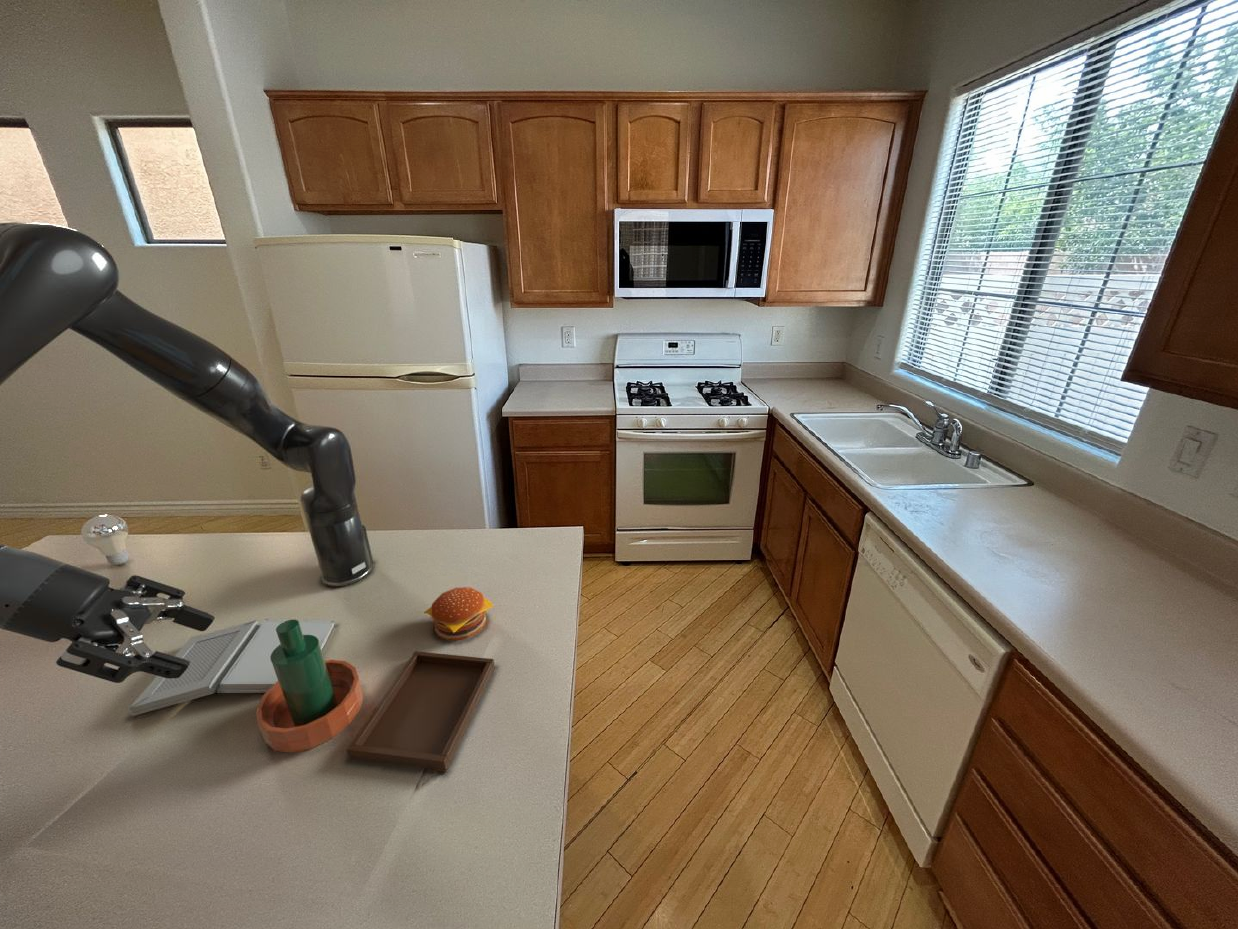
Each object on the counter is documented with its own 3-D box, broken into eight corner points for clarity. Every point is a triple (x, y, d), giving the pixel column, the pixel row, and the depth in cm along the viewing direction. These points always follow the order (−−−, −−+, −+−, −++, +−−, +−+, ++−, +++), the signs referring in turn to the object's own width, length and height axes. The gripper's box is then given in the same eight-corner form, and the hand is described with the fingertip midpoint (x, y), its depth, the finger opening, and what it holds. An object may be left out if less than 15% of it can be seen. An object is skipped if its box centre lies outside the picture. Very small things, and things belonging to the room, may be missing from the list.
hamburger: (464, 602, 93) (460, 574, 91) (497, 621, 88) (494, 592, 86) (422, 629, 86) (416, 600, 84) (456, 652, 81) (451, 621, 79)
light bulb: (147, 561, 106) (126, 514, 101) (104, 577, 100) (79, 527, 96) (136, 552, 109) (115, 505, 105) (94, 567, 104) (70, 518, 99)
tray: (416, 660, 79) (414, 651, 79) (494, 668, 78) (493, 658, 77) (349, 760, 63) (346, 749, 62) (446, 772, 62) (444, 761, 61)
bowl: (308, 678, 76) (301, 656, 74) (380, 685, 75) (375, 664, 73) (242, 749, 65) (232, 726, 63) (326, 760, 63) (318, 737, 62)
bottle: (311, 694, 72) (284, 610, 66) (345, 698, 72) (321, 613, 66) (283, 727, 67) (250, 639, 61) (320, 731, 67) (290, 643, 60)
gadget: (336, 626, 87) (332, 610, 86) (304, 692, 73) (298, 674, 72) (193, 644, 83) (186, 627, 81) (131, 718, 69) (121, 699, 68)
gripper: (7, 608, 45) (196, 663, 54) (90, 536, 57) (234, 591, 66) (-43, 666, 45) (154, 713, 54) (51, 582, 57) (199, 631, 66)
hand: (198, 646), depth 60 cm, fingers open, 8 cm apart
